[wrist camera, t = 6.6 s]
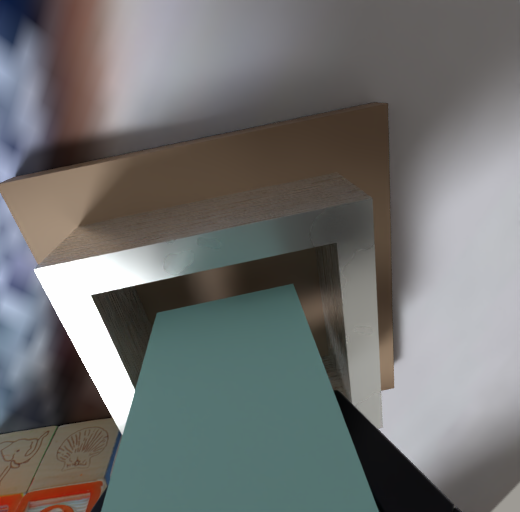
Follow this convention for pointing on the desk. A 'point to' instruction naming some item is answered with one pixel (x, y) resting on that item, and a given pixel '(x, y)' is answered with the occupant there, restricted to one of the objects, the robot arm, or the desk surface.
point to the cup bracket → (214, 256)
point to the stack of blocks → (57, 466)
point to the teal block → (236, 416)
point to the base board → (220, 184)
